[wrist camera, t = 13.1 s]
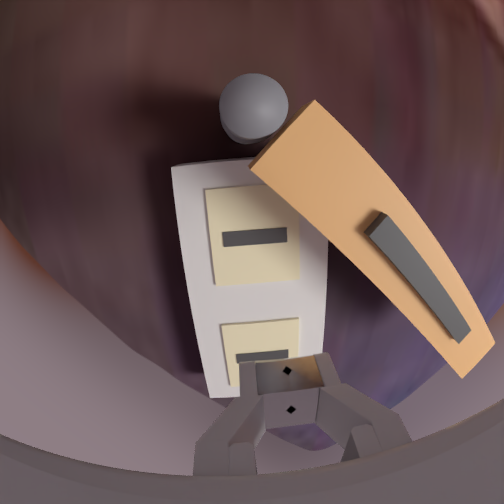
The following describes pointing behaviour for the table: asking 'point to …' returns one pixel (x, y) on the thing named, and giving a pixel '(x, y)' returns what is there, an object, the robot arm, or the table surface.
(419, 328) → the light wooden bar
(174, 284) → the table surface
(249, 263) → the two-drawer filing cabinet
